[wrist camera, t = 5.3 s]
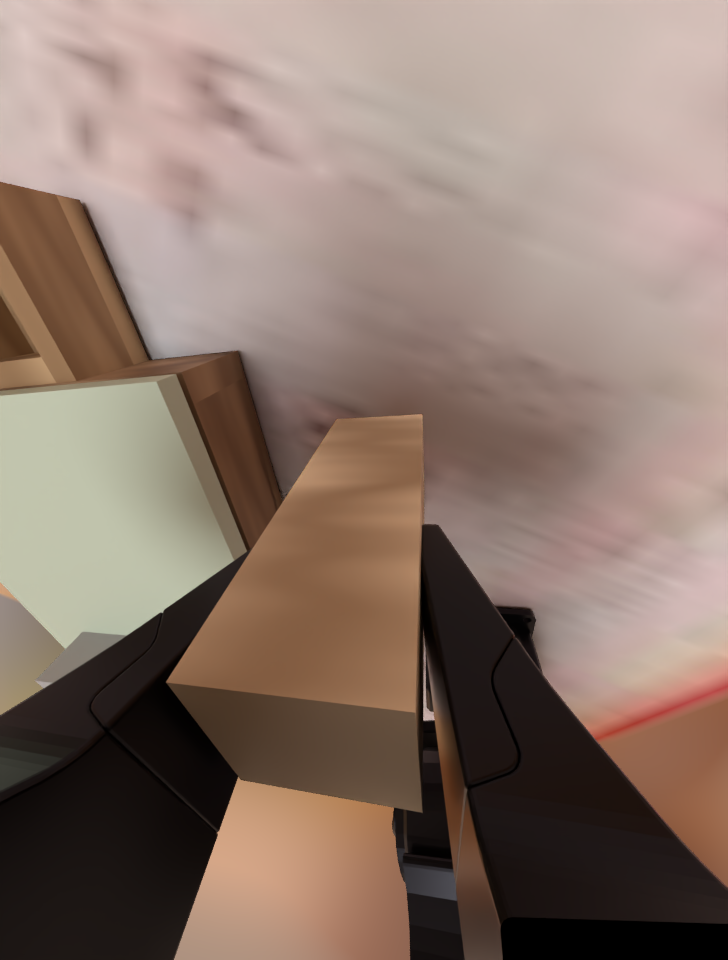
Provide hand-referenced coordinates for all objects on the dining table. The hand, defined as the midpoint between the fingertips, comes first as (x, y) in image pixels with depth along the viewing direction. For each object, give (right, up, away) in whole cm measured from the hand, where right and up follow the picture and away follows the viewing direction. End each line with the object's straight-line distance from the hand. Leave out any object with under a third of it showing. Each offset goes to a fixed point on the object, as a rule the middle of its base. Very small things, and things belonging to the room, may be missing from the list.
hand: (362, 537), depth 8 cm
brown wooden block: (+1, +2, +4) cm, 5 cm away
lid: (-13, -3, +10) cm, 17 cm away
